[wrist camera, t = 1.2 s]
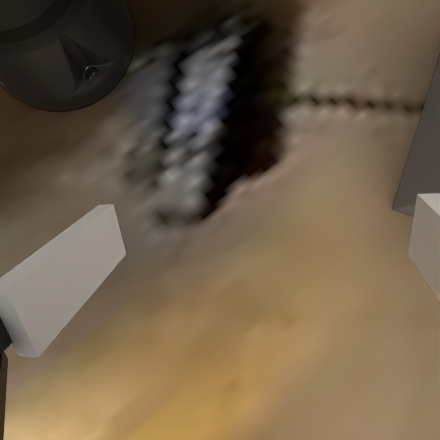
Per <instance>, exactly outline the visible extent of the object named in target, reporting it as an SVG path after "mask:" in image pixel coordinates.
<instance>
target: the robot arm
mask: <svg viewBox="0 0 440 440" xmlns="http://www.w3.org/2000/svg"><path fill="white" fill-rule="evenodd" d="M133 48H134V29H133V23H132V20H131V17H130V14H129V12H128V9H127V7H126V4H125V2H124V0H0V86H2V87H3V88H4V89H5V90H7V91H8V92H10V93H11V94H12V95H14V96H15V97H17V98H18V99H20V100H21V101H23V102H25V103H26V104H28V105H31V106H33V107H36V108H39V109H43V110H48V111H69V110H75V109H79V108H82V107H85V106H88V105H90V104H92V103H94V102H96V101H98V100H99V99H101V98H102V97H104V96H105V95H106V94H108V93H109V92H110V91H111V90H112V89H113V88H114V87H115V86H116V85H117V84H118V82H119V81H120V80H121V78H122V77H123V75H124V74H125V72H126V70H127V68H128V66H129V63H130V61H131V57H132V53H133ZM125 255H126V251H125V247H124V243H123V239H122V236H121V232H120V228H119V224H118V220H117V216H116V212H115V209H114V205H113V204H106V205H98V206H97V207H95V208H94V209H93V210H91V211H90V212H88V213H87V214H86V215H84V216H83V217H82V218H80V219H79V220H78V221H76V222H75V223H74V224H72V225H71V226H70V227H68V228H67V229H66V230H64V231H63V232H62V233H60V234H59V235H57V236H56V237H55V238H53V239H52V240H51V241H49V242H48V243H47V244H45V245H44V246H43V247H41V248H40V249H39V250H37V251H36V252H35V253H33V254H32V255H31V256H29V257H28V258H26V259H25V260H24V261H22V262H21V263H20V264H18V265H17V266H16V267H14V268H13V269H12V270H10V271H9V272H8V273H6V274H5V275H4V276H2V277H1V278H0V440H3V438H4V420H5V402H6V384H7V366H8V359H7V356H6V354H5V352H4V350H5V349H6V348H7V347H8V346H9V345H10V344H11V343H12V344H13V346H14V348H15V350H16V352H17V354H18V356H19V357H32V358H39V357H40V356H41V354H42V353H43V352H44V351H45V350H46V348H47V347H48V346H49V345H50V344H51V343H52V341H53V340H54V339H55V338H56V337H57V335H58V334H59V333H60V332H61V331H62V330H63V328H64V327H65V326H66V325H67V324H68V322H69V321H70V320H71V319H72V318H73V317H74V315H75V314H76V313H77V312H78V311H79V309H80V308H81V307H82V306H83V305H84V304H85V302H86V301H87V300H88V299H89V298H90V296H91V295H92V294H93V293H94V292H95V291H96V289H97V288H98V287H99V286H100V285H101V283H102V282H103V281H104V280H105V279H106V278H107V276H108V275H109V274H110V273H111V272H112V271H113V269H114V268H115V267H116V266H117V265H118V263H119V262H120V261H121V260H122V259H123V258H124V256H125ZM408 255H409V257H410V258H411V260H412V261H413V263H414V264H415V266H416V268H417V269H418V271H419V272H420V274H421V275H422V277H423V278H424V280H425V281H426V283H427V284H428V286H429V287H430V289H431V290H432V292H433V293H434V295H435V297H436V298H437V300H438V301H439V303H440V194H439V193H430V194H417V198H416V205H415V212H414V218H413V225H412V231H411V238H410V244H409V251H408Z"/></svg>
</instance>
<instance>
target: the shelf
mask: <svg viewBox="0 0 440 440" xmlns="http://www.w3.org/2000/svg"><path fill="white" fill-rule="evenodd" d="M430 193H439V194H440V56H439V59H438V62H437V66H436V69H435V72H434V75H433V79H432V82H431V85H430V88H429V91H428V95H427V98H426V101H425V104H424V108H423V111H422V114H421V117H420V120H419V124H418V127H417V130H416V133H415V137H414V140H413V143H412V146H411V149H410V153H409V156H408V159H407V162H406V165H405V169H404V172H403V175H402V178H401V182H400V185H399V188H398V191H397V194H396V198H395V201H394V204H393V207H392V210H395V211H398V212H401V213H404V214H407V215H410V216H413V217H414V212H415V205H416V198H417V194H430Z"/></svg>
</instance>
